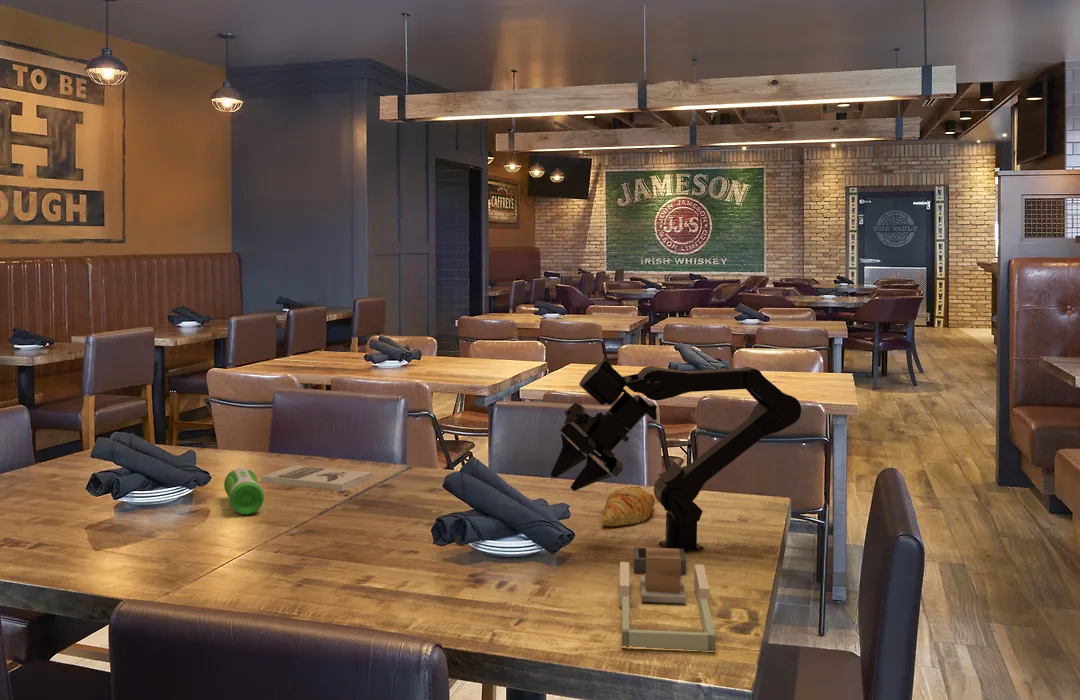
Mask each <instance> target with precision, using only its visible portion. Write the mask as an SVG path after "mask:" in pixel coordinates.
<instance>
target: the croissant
mask: <svg viewBox="0 0 1080 700" xmlns="http://www.w3.org/2000/svg"><path fill="white" fill-rule="evenodd" d="M655 503H656V501H655V498H654V494H650V493H649V492H647V491H646V490H645V489H642V487H640V486H633V485H632V486H625V487H622V488H618V489H616V490H614V491H613V492H611V493H610V494H609V495H608V497H606V500H605V505H604V509H603V512H602V515H601V524H602V525H603V526H606V527H621V526H628V525H636V523H637V524H640V523H644V522H645V521H646V520H647V519H648V518H649V517H651V515H652V512H653V509H654V506H655Z"/></svg>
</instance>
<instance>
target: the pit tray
mask: <svg viewBox="0 0 1080 700" xmlns="http://www.w3.org/2000/svg"><path fill="white" fill-rule="evenodd" d="M646 548H647V547H639V546H637V547H636V546H634V547H633V573H634V574H646ZM669 549H675V548H669ZM679 550H680V556H681V574H686V575H687V557H686V552H684V549H679Z"/></svg>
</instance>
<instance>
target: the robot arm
mask: <svg viewBox="0 0 1080 700" xmlns="http://www.w3.org/2000/svg"><path fill="white" fill-rule="evenodd" d="M578 386H579V387H580V388H582V389H583V390H584V391H585V392H586V393H587V394H588V395H589V396H590V397H592V398H593V399H594V400H595V401H596V402H597V403H598V405H601V406H603V405H605V404H606V405H609V406H610V405H612V406H610V408H608V410H607V411H606V412H605V413H604V414H603V413H602V412H598V413H596V415H594V416H592V415H590V414H588V413H586V412H585V407H584V406H583V405H581V404H579V403H578V402H577V403H576V402H574V403H573V404H572V405H571V406H569V407H568V408H567V409H566V410H565V411H564V415H565V417H566V418H565V420H564V422H563V426H561V428H560V429H559V431H560V432H561V433H560V437H561V444H562V447H561V450H560V453H559V455H558V458H557V459H556V462H555V464H554V465H553V468H552V470H551V472H550V476H551V477H552V478H554V479H556V478H559V476H561V475H563V474H564V473H566V472H568V471H569V470H571V469H572V468H574V467H576V466H577V465H579V464H580V463H583V461H585V460H586V463H585V466H584V467H583V468H582V469H581V472H579V474H578V475H577V476H576V478H575V479H574V481H573V482H572V484H571V485H570V489H571V490H572V491H573V492H575V491H578V490H581V489H583V488H586V487H588V486H590V485H592V484H595V483H598V482H600V481H603V480H607V479H608V478H610V479H611V478H613V476H614V477H616V478H617V477H618V476H619V474H621V472H623V471H624V470H623V469H624V467H623V465H624V464H623V462H622V461H621V460H620V459H619V458H617V457H616V456H615V455H616V454H615V453H614V452H613V451H614V450H615V449H616V448H617V447H618V446H619V444H620V443H621V442H622V441H623V442H624V443H627V442H628V441H629V440H630V437H629V436H628V435H629V434H630V432H631V431H632V430H633V429H634V428H635V427H636V426H637V424H639V423H640V421H641V420H643V418H644V417H645V416H646V415H647V416H648V417H649V418H650V419H652V420H653V421H656V420H657V419H658V417H657V405H656V404H654V403H648V402H647V401H646V400H645V399H644V398H643V397H642V396H641V395H639V394H642V395H643V396H645V397H646V398H648V399H650V400H652V401H657V402H658V401H662V400H666V399H671V398H675V397H678V396H681V395H684V394H687V393H688V394H689V393H694V392H695V393H696V392H715V391H734V390H735V391H736V390H746V391H747V392H748V393H749V395H750V396H751V397H753V399H754V400H755V401H756V402H757V404H756V405H755V406H754V407H753V409H752V411H751V413H750V414H749V416H748V417H747V418H746V420H744V421H743V422H742V423H741V424H739V425H737V427H736V428H734V429H733V430H732V431H731V432H729V433H728V434H727V435H725V436H724V437H723V438H722V439H720V440H719V441H718V442H717V443H715V444H713V446H711V447H710V448H709V449H708V450H706V451H704V452H703V453H702V454H700V455H699V456H698V457H697V458H696V459H694V461H692V462H691V463H689V464H687V465H684V466H680V465H679V464H678V463H677V462H674V463H672V464H671V465H670V466H669V467H668V469H666V470H665V471H664V472H661V473H659V474H658V476H659V478H658V479H657V480H656V481H655V482H654V485H653V496H654V497H655V499H656V500H657V502H659V504H660V505H661V506H662V507H663V508H664V511H666V513H665V515H666V516H665V540H660V541H658V545H660V546H661V547H662V548H675V549H684V552H685V553H686V552H687V553H689V552H698V551H703V550H704V549H705V548H704V547H705V546H702V545H700V544H699V543H698V542H697V541H698V522H699V521H700V519H701V517H702V515H703V512H704V511H703V509H702V508H700V506H698V505H697V504H696V503H695V502H694V500H695V499H696V498H697V497H698V495H699V494H700V492H701V490H702V489H703V487H704V486H705V484H706V483H707V482H708V481H710V480H711V479H712V478H713V477H714V476H716V475H717V474H718V473H720V472H721V471H722V470H724V469H725V468H726V467H727V466H728V465H730V464H731V463H732V462H734V461H735V460H736V459H738V458H739V457H740V456H741V455H743V454H744V453H745V452H746V451H747V450H749V449H750V448H752V447H753V446H754V445H755V444H757V442H759V441H761V439H763V438H764V437H768V436H771V435H773V434H776V433H779V432H781V431H783V430H785V429H787V428H788V427H791V426H792V425H794V424H796V423H797V421H799V420H800V418H801V416H802V415H801V414H802V406H801V403H800V401H799V400H798V399H797V398H796V397H794V396H792V395H790V394H788V393H785V392H783V391H782V390H780V389H779V388H778V387H777V386H776V385H774V383H772V382H771V381H770V380H769V379H768V378H767V377H765V376H764V375H763V374H762V372H761V371H760V370H758V369H756V368H755V367H750V366H743V367H740V368H739V367H738V368H737V367H736V368H722V369H719V368H717V369H700V370H680V369H672V368H669V367H668V368H667V367H660V366H645V367H643V368H641V370H640V371H639V372H638V373H634V374H627V375H624V376H622V375H621V374H620V373H619V372H618V371H617V370H616V369H615V368H613V365H612V364H611V363H610V362H609V361H608V360H607V359H602V360H601V361H600V362H599V363H597V364H596V365H595V366H594V367H592V368H591V369H589V370H588V371H587V372H586V373H585V374H584V376H583V377H582V378H581V380H580V381H579V383H578ZM625 387H626V388H628V389H629V390H631V391H632V392H633V393H639V394H636V395H634V396H633V395H631V394H630V393H629V392H628V391H627V390H626V389H624V388H625ZM591 455H592V456H591ZM612 475H613V476H612Z"/></svg>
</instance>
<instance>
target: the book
mask: <svg viewBox="0 0 1080 700" xmlns="http://www.w3.org/2000/svg"><path fill="white" fill-rule="evenodd" d="M371 478H373V479H374V472H367V471H357V470H347V469H340V468H339V469H338V468H330V467H329V468H326V467H317V466H308V465H307V466H305V465H297V464H295V465H291V466H288V467H286V468H285V467H284V468H282V469H280V470H279V469H278V470H276V471H273V472H270V473H267V474H264V475H261V477H260V480H261V481H260V482H261V483H265V484H267V483H268V484H276V485H284V486H285V485H286V486H294V487H304V488H313V489H324V490H332V491H343V492H344V491H345V490H348V489H350V487H351V488H353V487H355V485H356V486H358V485H360V484H359V483H361V484H363V483H365V482H364V481H366V482H368V481H370V480H369V479H371ZM367 480H368V481H367ZM371 480H372V479H371ZM362 482H363V483H362ZM357 484H358V485H357Z"/></svg>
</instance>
